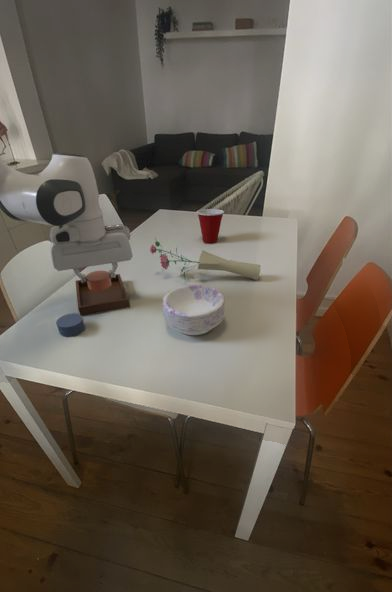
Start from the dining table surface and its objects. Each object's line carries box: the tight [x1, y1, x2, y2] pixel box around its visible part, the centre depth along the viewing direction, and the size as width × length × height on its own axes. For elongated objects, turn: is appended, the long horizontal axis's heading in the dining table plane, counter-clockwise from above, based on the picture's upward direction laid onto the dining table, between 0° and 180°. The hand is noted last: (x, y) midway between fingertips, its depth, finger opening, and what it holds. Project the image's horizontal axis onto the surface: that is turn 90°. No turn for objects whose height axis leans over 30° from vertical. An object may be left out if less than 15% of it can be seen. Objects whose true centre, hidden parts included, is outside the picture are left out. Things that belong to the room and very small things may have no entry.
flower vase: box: [149, 237, 262, 281], centre depth 102 cm, size 12×12×35 cm
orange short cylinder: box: [85, 270, 112, 291], centre depth 87 cm, size 6×6×3 cm
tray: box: [75, 273, 131, 317], centre depth 94 cm, size 18×14×3 cm
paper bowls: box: [162, 284, 226, 336], centre depth 80 cm, size 15×15×8 cm
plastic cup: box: [196, 208, 225, 245], centre depth 127 cm, size 11×11×12 cm
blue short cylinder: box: [55, 312, 86, 338], centre depth 80 cm, size 6×6×3 cm
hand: (98, 279), depth 87 cm, fingers closed on orange short cylinder, 6 cm apart
